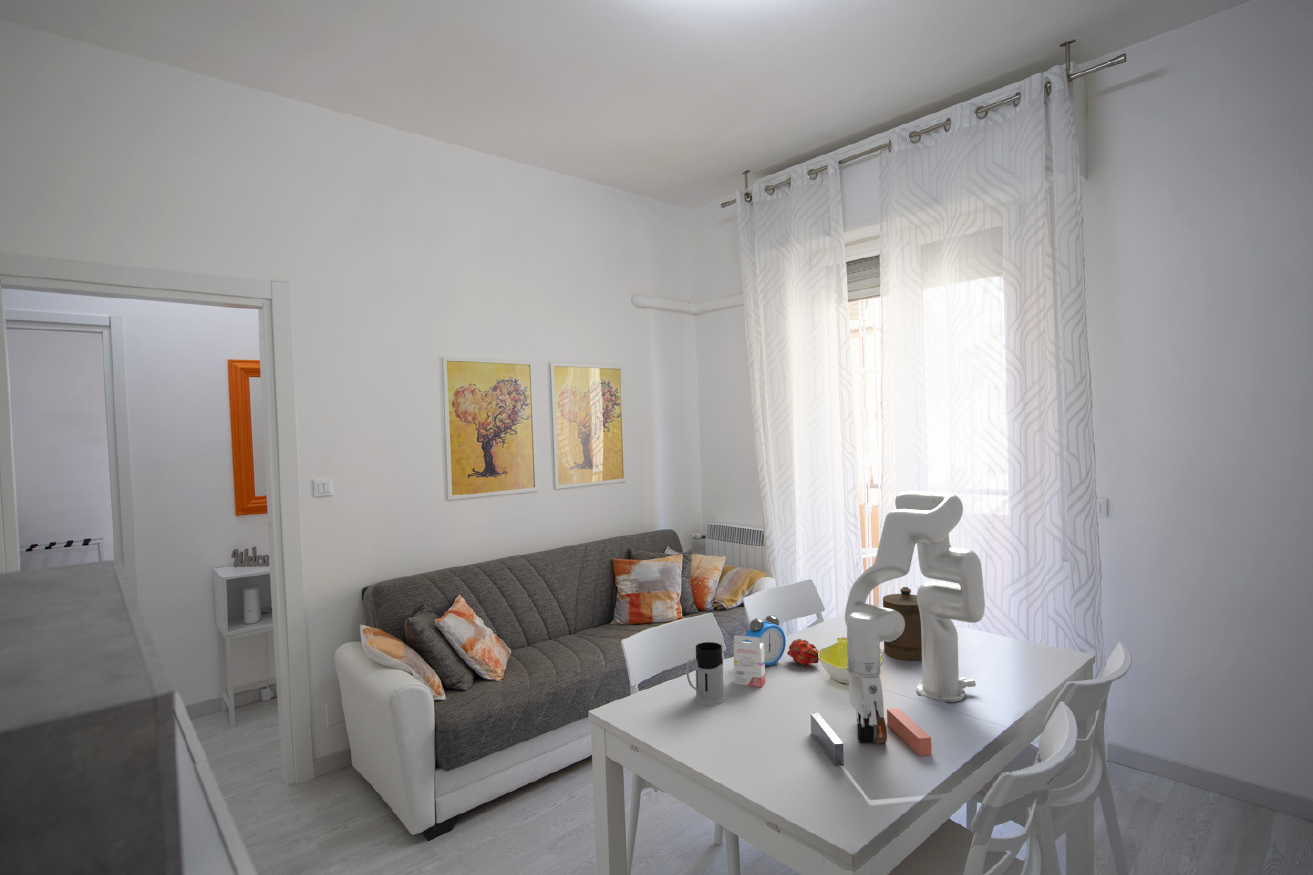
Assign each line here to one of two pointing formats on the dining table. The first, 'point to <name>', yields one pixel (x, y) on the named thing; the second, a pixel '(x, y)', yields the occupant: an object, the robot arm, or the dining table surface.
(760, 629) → the alarm clock
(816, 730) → the gray metal bar
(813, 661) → the dragon fruit
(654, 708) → the dining table surface
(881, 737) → the tin
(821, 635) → the dining table surface
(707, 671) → the glass holder
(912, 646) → the wooden container
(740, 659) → the ink cartridge box
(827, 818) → the dining table surface
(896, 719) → the pink block
